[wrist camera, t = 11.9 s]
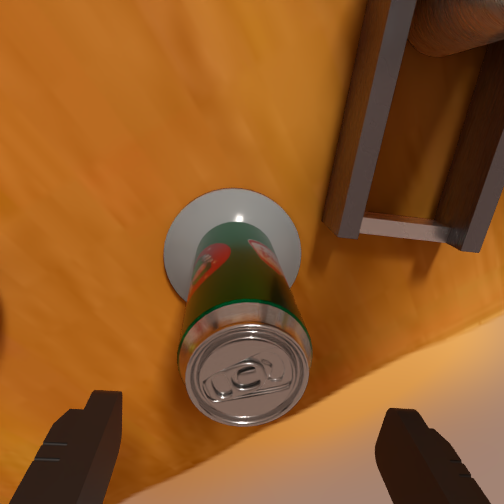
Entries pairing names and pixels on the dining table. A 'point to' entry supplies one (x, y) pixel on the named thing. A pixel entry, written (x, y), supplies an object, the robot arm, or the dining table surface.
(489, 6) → the grey metal cylinder
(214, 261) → the soda can
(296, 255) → the grey disc
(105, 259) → the dining table surface
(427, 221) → the can rack
